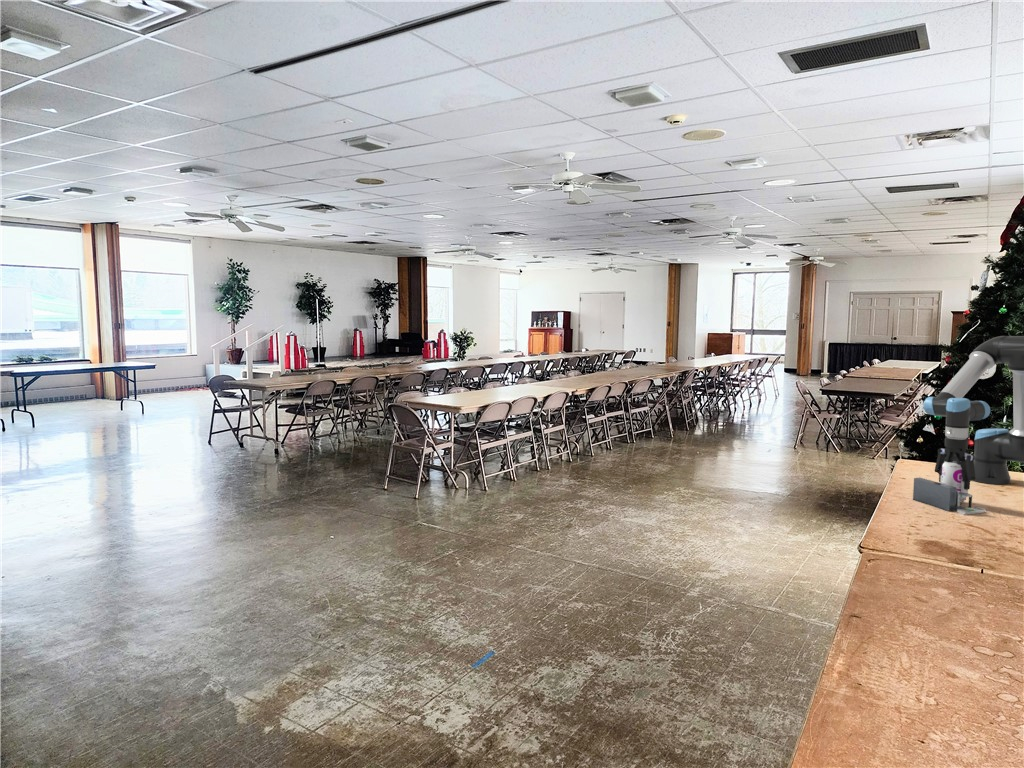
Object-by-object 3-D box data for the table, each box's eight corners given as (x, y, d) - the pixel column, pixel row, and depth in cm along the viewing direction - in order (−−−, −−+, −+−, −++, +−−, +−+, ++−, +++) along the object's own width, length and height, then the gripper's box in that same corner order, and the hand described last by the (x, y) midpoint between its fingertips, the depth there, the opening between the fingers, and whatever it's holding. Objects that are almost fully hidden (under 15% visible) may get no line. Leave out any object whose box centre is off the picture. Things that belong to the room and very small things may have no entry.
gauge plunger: (927, 496, 259) (928, 482, 258) (971, 510, 240) (972, 494, 240) (925, 497, 258) (925, 482, 258) (969, 510, 240) (970, 495, 239)
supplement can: (970, 502, 249) (972, 464, 247) (949, 503, 249) (951, 465, 248) (957, 496, 257) (958, 460, 255) (936, 497, 257) (937, 460, 256)
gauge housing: (935, 497, 261) (936, 475, 260) (985, 512, 241) (986, 489, 240) (912, 499, 258) (913, 478, 257) (961, 515, 238) (962, 491, 237)
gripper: (925, 433, 259) (922, 488, 262) (974, 443, 239) (971, 502, 242) (940, 432, 261) (937, 486, 264) (990, 441, 241) (986, 500, 244)
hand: (953, 494), depth 253 cm, fingers closed on supplement can, 8 cm apart
